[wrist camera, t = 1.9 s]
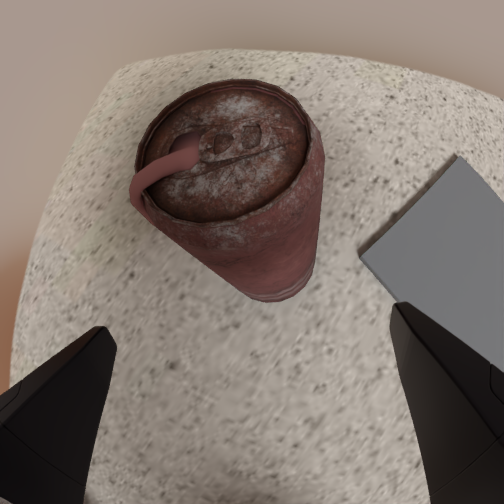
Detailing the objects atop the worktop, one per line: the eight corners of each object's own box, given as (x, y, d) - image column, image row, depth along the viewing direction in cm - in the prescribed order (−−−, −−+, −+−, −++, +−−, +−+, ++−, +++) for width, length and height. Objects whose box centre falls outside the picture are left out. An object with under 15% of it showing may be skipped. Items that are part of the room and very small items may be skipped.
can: (211, 257, 22) (95, 151, 9) (278, 205, 22) (240, 51, 9) (260, 323, 20) (175, 293, 7) (331, 265, 20) (370, 142, 7)
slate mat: (555, 286, 16) (558, 285, 15) (477, 409, 15) (481, 410, 14) (457, 158, 21) (460, 155, 20) (359, 258, 20) (360, 256, 20)
